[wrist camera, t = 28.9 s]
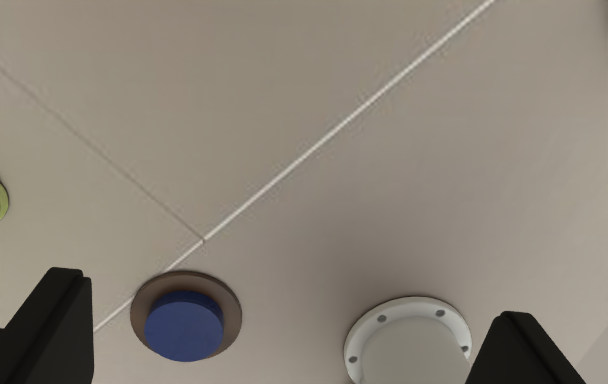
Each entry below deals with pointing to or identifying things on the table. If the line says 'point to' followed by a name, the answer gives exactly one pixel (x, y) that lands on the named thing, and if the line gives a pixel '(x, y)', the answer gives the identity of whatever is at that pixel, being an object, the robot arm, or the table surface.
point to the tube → (3, 202)
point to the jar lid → (184, 326)
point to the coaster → (188, 283)
